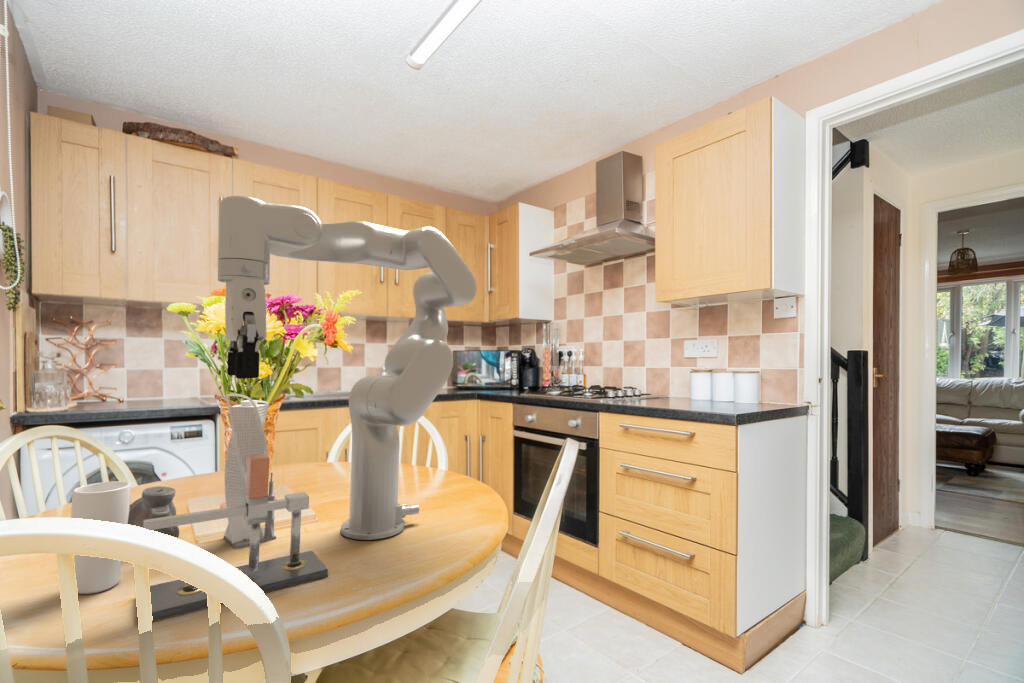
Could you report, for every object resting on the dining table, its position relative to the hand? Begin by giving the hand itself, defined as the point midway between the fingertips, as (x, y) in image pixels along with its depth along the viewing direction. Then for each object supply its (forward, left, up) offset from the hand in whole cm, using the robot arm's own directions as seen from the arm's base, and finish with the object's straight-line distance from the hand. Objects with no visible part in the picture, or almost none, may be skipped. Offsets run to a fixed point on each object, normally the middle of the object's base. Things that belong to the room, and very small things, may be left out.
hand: (242, 376), depth 79 cm
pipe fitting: (+10, -21, -32) cm, 40 cm away
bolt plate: (0, +6, -32) cm, 32 cm away
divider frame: (+1, +6, -31) cm, 31 cm away
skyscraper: (-4, -15, -32) cm, 35 cm away
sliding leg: (-2, +6, -30) cm, 31 cm away
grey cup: (+17, -6, -32) cm, 37 cm away
